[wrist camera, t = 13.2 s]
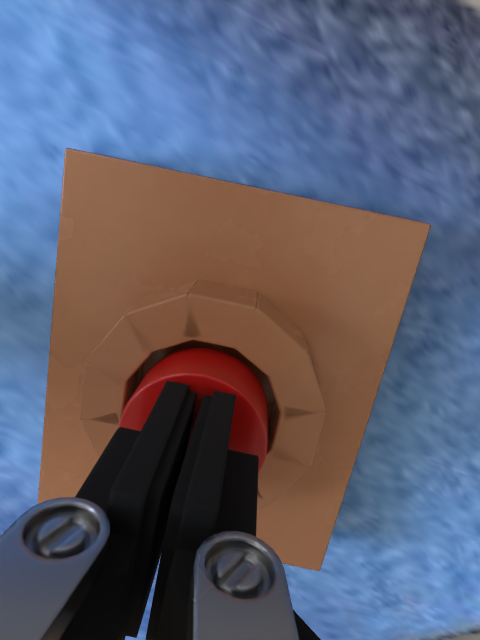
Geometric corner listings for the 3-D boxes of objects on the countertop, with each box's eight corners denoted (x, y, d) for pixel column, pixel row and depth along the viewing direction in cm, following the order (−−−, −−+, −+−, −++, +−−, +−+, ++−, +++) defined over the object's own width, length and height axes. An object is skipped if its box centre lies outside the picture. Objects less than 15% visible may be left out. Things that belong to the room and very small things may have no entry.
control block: (95, 153, 14) (29, 140, 10) (407, 218, 14) (460, 230, 10) (64, 473, 17) (6, 553, 14) (313, 525, 17) (326, 621, 14)
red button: (147, 334, 12) (127, 358, 10) (280, 361, 12) (283, 391, 10) (130, 450, 13) (110, 489, 11) (252, 475, 13) (250, 519, 11)
